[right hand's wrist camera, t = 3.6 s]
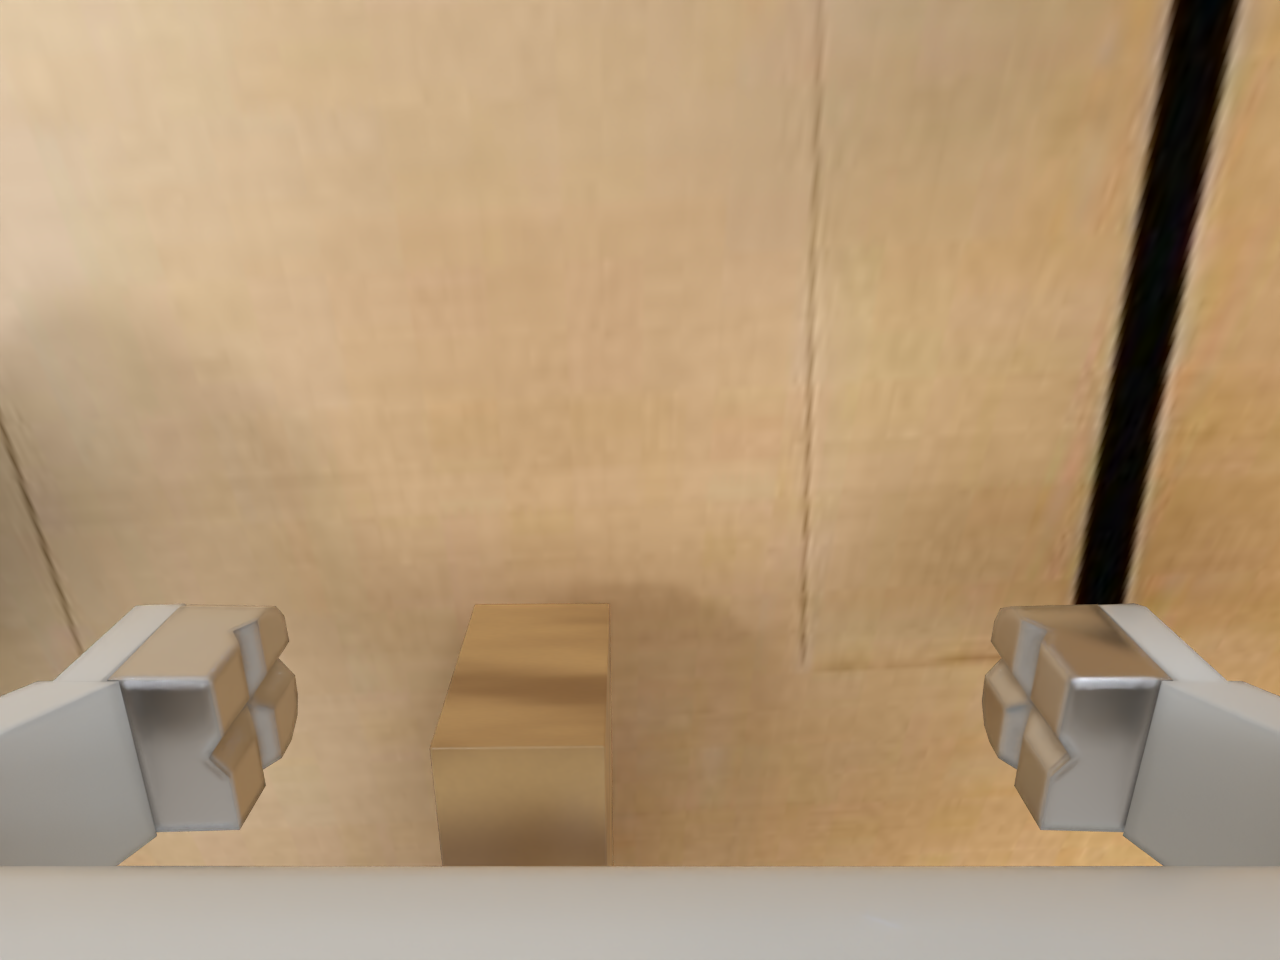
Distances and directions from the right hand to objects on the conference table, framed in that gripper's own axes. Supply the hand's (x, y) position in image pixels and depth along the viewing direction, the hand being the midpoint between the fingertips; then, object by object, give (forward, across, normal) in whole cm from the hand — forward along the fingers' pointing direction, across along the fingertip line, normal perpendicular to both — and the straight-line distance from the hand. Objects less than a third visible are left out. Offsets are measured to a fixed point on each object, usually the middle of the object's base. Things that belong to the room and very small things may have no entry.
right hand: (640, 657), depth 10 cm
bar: (+23, -4, -25) cm, 35 cm away
